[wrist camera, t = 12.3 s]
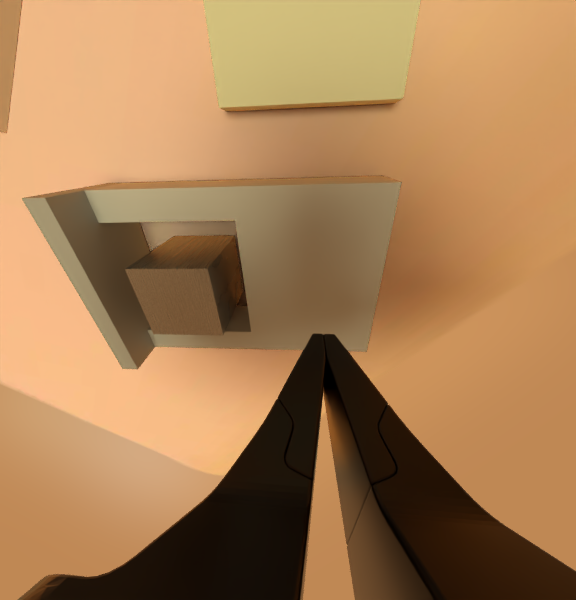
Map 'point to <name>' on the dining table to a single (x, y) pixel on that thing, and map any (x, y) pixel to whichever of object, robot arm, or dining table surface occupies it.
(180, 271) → the block
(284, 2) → the pad
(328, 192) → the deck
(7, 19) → the beige half-round holder
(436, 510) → the robot arm
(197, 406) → the dining table surface
